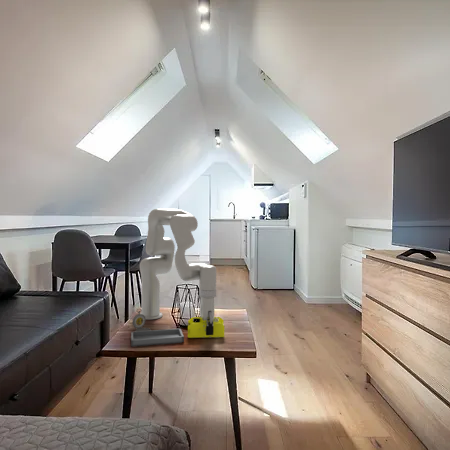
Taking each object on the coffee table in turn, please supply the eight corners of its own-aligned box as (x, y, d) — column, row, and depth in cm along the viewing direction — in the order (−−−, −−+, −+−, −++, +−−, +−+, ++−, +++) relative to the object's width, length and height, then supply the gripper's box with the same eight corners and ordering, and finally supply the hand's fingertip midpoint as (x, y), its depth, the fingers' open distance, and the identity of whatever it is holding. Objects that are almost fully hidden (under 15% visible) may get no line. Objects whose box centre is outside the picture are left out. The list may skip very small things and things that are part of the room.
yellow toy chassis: (223, 334, 161) (223, 316, 161) (224, 339, 156) (224, 320, 155) (188, 335, 160) (188, 316, 160) (187, 339, 154) (187, 320, 154)
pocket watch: (146, 334, 160) (147, 312, 159) (129, 333, 161) (129, 311, 161) (154, 329, 168) (154, 308, 168) (137, 328, 169) (137, 307, 169)
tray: (131, 337, 156) (131, 331, 156) (180, 333, 161) (180, 328, 161) (131, 346, 145) (131, 340, 145) (183, 342, 150) (183, 336, 150)
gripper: (196, 289, 165) (195, 326, 165) (203, 297, 148) (202, 338, 149) (211, 289, 167) (211, 325, 167) (220, 297, 150) (220, 337, 151)
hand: (207, 331), depth 158 cm, fingers open, 9 cm apart
